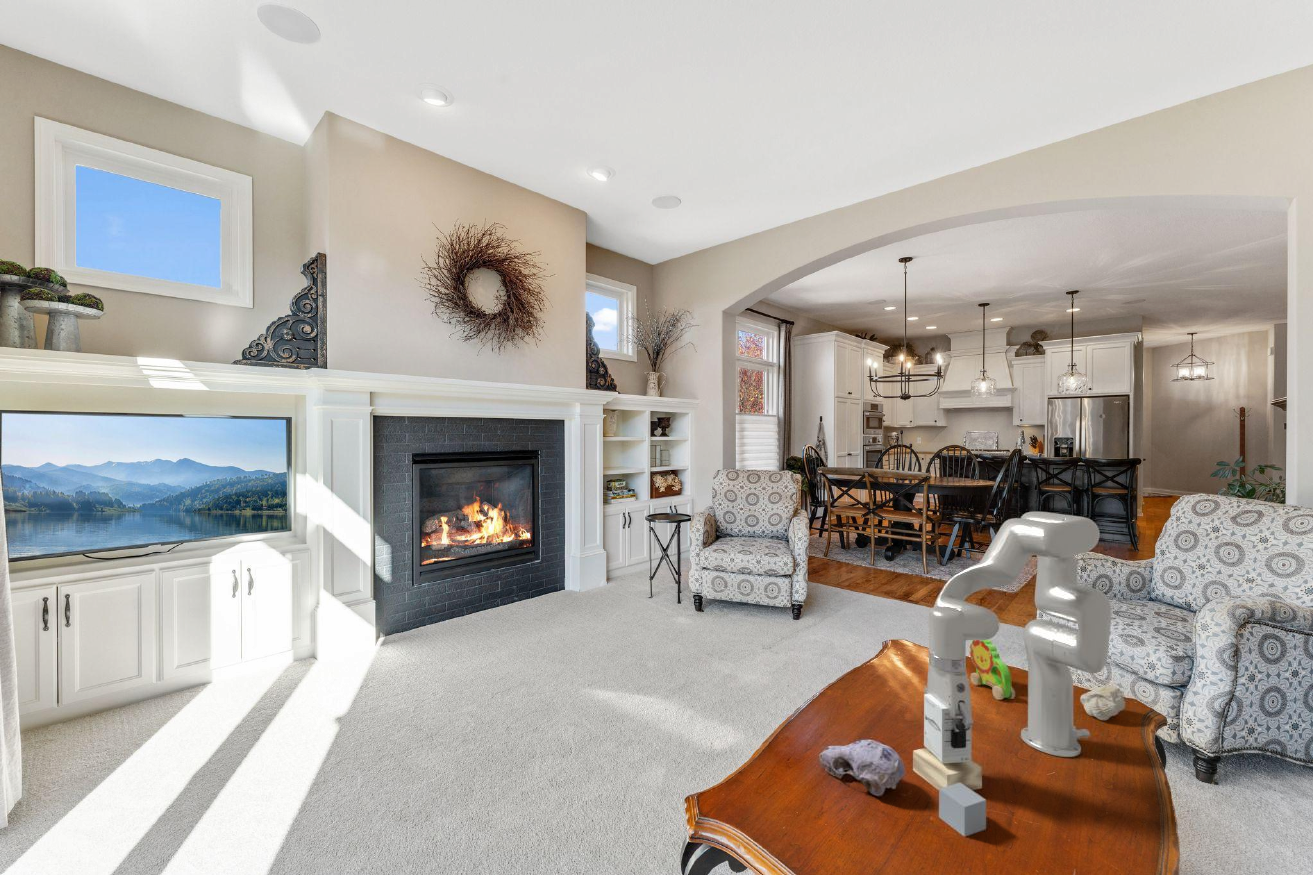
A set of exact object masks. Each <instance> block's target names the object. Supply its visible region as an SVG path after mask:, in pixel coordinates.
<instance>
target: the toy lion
mask: <svg viewBox="0 0 1313 875" xmlns="http://www.w3.org/2000/svg"><path fill="white" fill-rule="evenodd" d="M969 656H970V658H971V662H972V664H973V665H974V666H975V670H976V671H975V672H971V674H970V677H969V678H970V681H971V683H972V684H973V685H974V684H975V685H974V686H981V685H986V686H989V687H991V689H992V690H991V692H992V695H993V697H994V698H995V699H996V700H998V701H999V700H1001V701H1002V700H1003V699H1005V698H1007V699H1008V700H1012V699H1013V700H1014V699H1015V697H1016V691H1015V689H1014V688H1013V687H1012V675H1011V672H1010V669H1009V668H1008V666H1007V664H1006V663H1005V662H1004V661H1003V660H1002V659H1001V657H1000V654H999V651H997V648H996V646H995V645H994V644H993V643H992V641H991V639H987V640H971V643H970V644H969ZM998 670H999V672H1000V675H1001V677H1000V676H999V674H998Z"/></svg>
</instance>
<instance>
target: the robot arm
mask: <svg viewBox="0 0 1313 875" xmlns="http://www.w3.org/2000/svg"><path fill="white" fill-rule="evenodd" d="M1100 534H1101V533H1100V529H1099V527H1098V525H1097V524H1096V522H1094V521H1093V520H1092V519H1090V518H1088V517H1084V516H1078V515H1072V514H1062V513H1058V512H1057V513H1055V512H1048V511H1029V512H1025V513H1024V514H1022V515H1021V516H1020V518H1019V517H1015V518H1009V519H1007V520H1005V521H1004V522H1003V523H1002V524H1001V525H1000V528H999V530H998V531H997V533H996V534H995V536H994V537H993V539H992V541H991V543H990V544H989V546H988V548H987V549H986V551H985V553H984V555H983V556H982V558H981V559H980V561H979V562H977V563H976V564H974V565H971V566H969V567H966V568H965V569H963V570H962V571H961V572H959V573H957V574H955V575H954V576H953V577H951V578H950V579H949V580H948V581H947V582H946V583H945V584H944V586H943V587H942V590H940V593H939V594H938V596H937V597H936V599H935V601H934V602H935V603H934V606H933V607H931V609H930V610H929V613H928V635H929V636H928V655H929V656H928V662H929V663H928V664H929V665H928V670H927V680H926V682H927V684H926V686H924V688H923V690H924V694H931V695H932V696H933V697H934V698H936V699H937V700H938V701H939V702H941V703H942V704H943V705H944V706H946V707H947V708H948V710H949V717H951V718H952V726H953V729H954V730H951V746H952V747H953V748H954V749H955V748H965V747H966V731H968V729H969V728H970V726H971V727H972V726H973V724H974V720H973V717H972V699H971V690H970V689H971V688H970V683H969V678H968V677H969V676H968V673H966V671H967V670H966V668H967V667H966V665H967V664H966V663H967V658H966V654H967V653H966V648H967V647H966V644H967V641H973V640H991V639H992V638H994V637H995V636H996V635H997V634H998V632H999V630H1000V620H999V617H998V616H997V615H996V613H995V612H993V611H992V610H991V609H988V608H987V607H984V606H981V605H978V604H975V603H970V602H968V601H965V600H966V599H967V598H968V597H969V596H970V595H972V594H974V593H976V592H978V591H982V590H985V589H993V588H998V587H999V588H1000V587H1005V586H1011V585H1014V584H1015V583H1016V582H1018V580H1019V578H1020V575H1021V574H1022V573H1023V570H1024V569H1025V567H1026V566H1027V564H1028V562H1029V561H1030V558H1032V556H1036V558H1037V568H1036V569H1037V570H1036V579H1035V580H1036V581H1035V591H1034V604H1035V607H1036V609H1037V610H1038V611H1040V612H1041V613H1043V614H1045V615H1047V616H1049V617H1054V618H1057V619H1059V620H1064V621H1066V622H1071V623H1074V624H1077V627H1078V628H1075V627H1071V626H1069V625H1066V624H1062V623H1060V622H1056V621H1051V620H1047V619H1040V618H1039V619H1038V618H1037V619H1032V620H1031V621H1029V622H1028V623H1027V624H1026V625H1025V627H1024V629H1023V642H1024V647H1025V652H1026V655H1027V656H1026V658H1027V675H1028V676H1027V677H1028V678H1027V726H1026V727H1024V728H1022V729H1021V732H1020V738H1021V739H1022V740H1023V741H1024V743H1026V744H1027V745H1028V746H1030V747H1032V748H1033V749H1036V750H1038V751H1039V752H1042V753H1046V754H1049V755H1051V756H1056V757H1061V758H1062V757H1063V758H1064V757H1065V758H1073V757H1076V756H1079V755H1081V751H1082V749H1081V748H1082V747H1081V744H1080V743H1079V742H1078V740H1079V739H1080V738H1083V739H1084V738H1090V737H1091V733H1090V731H1089V730H1088V729H1087V728H1086V729H1085V728H1079V729H1077V727H1076V726H1075V725H1074V680H1073V676H1072V673H1071V672H1072V671H1070V668H1072V669H1075V670H1078V671H1081V672H1084V673H1088V674H1098V673H1100V672H1102V671H1103V669H1104V668H1105V666H1106V664H1107V660H1108V658H1109V657H1108V656H1109V646H1110V637H1111V624H1112V605H1111V603H1110V602H1111V601H1110V599H1109V598H1108V596H1107V595H1106V594H1105V593H1104V592H1103V591H1101V590H1099V589H1096V588H1094V587H1089V586H1085V585H1081V584H1079V583H1078V573H1079V572H1078V570H1079V567H1078V566H1079V565H1078V564H1079V563H1078V561H1077V558H1076V556H1077V555H1081V554H1084V553H1087V552H1090V551H1091V550H1093V549H1094V548H1095V547H1096V546H1097V545H1098V543H1099V541H1100V540H1099V539H1100ZM958 709H959V711H960V713H961V715H960V716H955V714H957V711H958ZM956 719H961V723H959V724H958V725H957V722H956Z"/></svg>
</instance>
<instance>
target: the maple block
mask: <svg viewBox="0 0 1313 875" xmlns="http://www.w3.org/2000/svg"><path fill="white" fill-rule="evenodd" d="M912 771H914V773H916V774H917V775H918V776H920V777H921V778H923V779H924V780H925V781H926V782H927V783H929V784H930V785H931V786H933V787H934V788H935V789H937V790H938V791H939V789H940V788H944V787H947V786H950V785H953V784H957V783H962V784H963V785H965V786H966V787H968V788H969V789H971V790H972V791H975V790H979V789H983V766H981V765H980V764H978V763H976V762H975V761H973V759H971V762H959V763H942V762H941V761H940V760H939V759H938V758H937V757H936V756H935V755H934V754H933V753H932V752H931V751H930V750H929V749H928V748H926V747H924V748H919V749H914V750H912Z"/></svg>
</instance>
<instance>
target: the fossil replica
mask: <svg viewBox="0 0 1313 875" xmlns="http://www.w3.org/2000/svg"><path fill="white" fill-rule="evenodd" d="M1123 693H1124V692H1123V691H1122V690H1121V689H1120V688H1119V687H1116V686H1098V687H1096V688H1094V689H1092V690H1091V691H1090V690H1089V691H1088V692H1085V693H1083V694H1082V695H1081V696H1080V698H1079V699H1080V700H1079V701H1080V703H1081V704H1082V705H1083V708H1084V710H1085V712H1086V713H1087V714H1088V715H1089V716H1091V717H1095V718H1096V719H1098V720H1100V721H1107V720H1109V719H1110V718H1111V717H1113V716H1117V715H1118V714H1119V712H1121V711H1123V710H1124V709H1125V708H1126V701H1125V699H1124V695H1123Z"/></svg>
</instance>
